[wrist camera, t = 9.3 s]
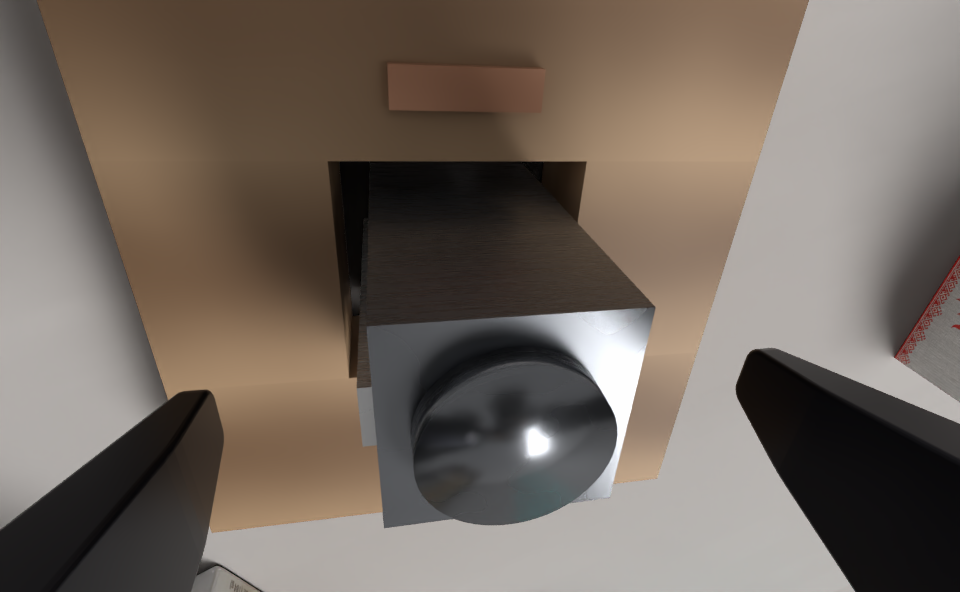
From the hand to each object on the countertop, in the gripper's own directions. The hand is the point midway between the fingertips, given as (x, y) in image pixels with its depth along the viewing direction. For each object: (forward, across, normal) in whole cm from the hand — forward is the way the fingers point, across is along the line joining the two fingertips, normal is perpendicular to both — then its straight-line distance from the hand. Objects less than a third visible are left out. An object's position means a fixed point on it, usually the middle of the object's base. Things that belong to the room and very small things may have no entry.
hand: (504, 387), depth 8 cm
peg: (+7, 0, 0) cm, 7 cm away
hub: (+7, 0, 0) cm, 7 cm away
